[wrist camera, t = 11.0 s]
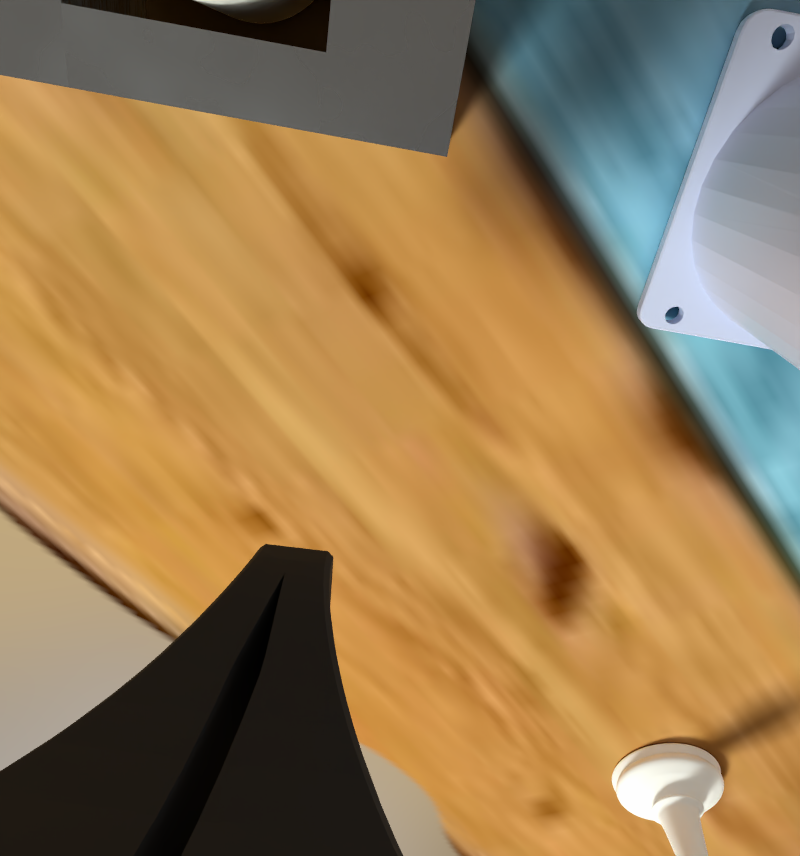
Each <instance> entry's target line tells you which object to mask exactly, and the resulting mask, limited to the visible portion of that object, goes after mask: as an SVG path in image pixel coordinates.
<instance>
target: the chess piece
mask: <svg viewBox="0 0 800 856" xmlns="http://www.w3.org/2000/svg"><path fill="white" fill-rule="evenodd" d="M612 784H613V787H614V789H615V791H616V793H617V797H618V799H619V801H620V803H621V804H622V805H623V806H624V807H625V808H626V809H627V810H628V811H629V812H631V813H633V814H634V815H637V816H639V817H642V818H645V819H649V820H654V821H656V822H657V823H659V824H661V825H662V827H663V828H664V831H665V833H666V835H667V837H668V839H669V841H670V844H671V846H672V848H673V851H674V853H675V855H676V856H708V852H707V848H706V844H705V839H704V835H703V831H702V826H701V821H700V818H701V817H702V815H703V814H704V812H706V811H707V810H709V809H710V808H712V807H713V806H714V805H715V804H716V803H717V802H718V801H719V799H720V798H721V796H722V794H723V790H724V780H723V777H722V775H721V769H720V766H719V763H718V762H717V760H716V759H715V758H714V757H713V756H712V755H711V754H710V753H708V752H706V751H705V750H703V749H701V748H698V747H695V746H692V745H687V744H680V743H663V744H656V745H651V746H647V747H644V748H641V749H639V750H636V751H634V752H632V753H631V754H629V755H627V756H626V757H625V758H623V759H622V760H621V761H620V762H619V763H618V765H617V766H616V767H615V769H614V771H613V774H612Z"/></svg>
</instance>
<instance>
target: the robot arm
mask: <svg viewBox="0 0 800 856" xmlns="http://www.w3.org/2000/svg"><path fill="white" fill-rule="evenodd" d="M779 26H781V27H783V28H785V31H786V41H785V42H784V44H783V45H782V47H781V48H779V49H778V50H777V49H775V48H774V47H773V46H772V43H771V39H772V34H773V33H774V31H775V29H776V28H778V27H779ZM672 307H679V313H678V315H677V316H676V317H675V318H673V319H672V320H665V314H666V312H667V311H668V310H669V309H670V308H672ZM637 315H638V318H639V319H640V320H641V322H642V323H643V324H644V325H645V326H647V327H650V328H654V329H659V330H665V331H671V332H676V333H682V334H687V335H693V336H699V337H704V338H710V339H716V340H721V341H727V342H732V343H738V344H744V345H749V346H755V347H761V348H766V349H772V350H773V351H775V352H776V353H777V354H779V355H780V356H782V357H783V358H784V359H786V360H787V361H788V362H790V363H791V364H793V365H794V366H795V367H797V368H798V369H799V370H800V14H797V13H792V12H786V11H781V10H776V9H761V10H758V11H755V12H753V13H751V14H749V15H748V16H747V17H746V18H745V19H744V20H743V21H741V23H740V25H739V27H738V29H737V30H736V33H735V36H734V39H733V41H732V44H731V47H730V50H729V52H728V55H727V58H726V61H725V64H724V66H723V69H722V72H721V75H720V78H719V80H718V83H717V86H716V89H715V92H714V94H713V97H712V100H711V103H710V106H709V108H708V111H707V114H706V117H705V120H704V122H703V125H702V128H701V131H700V134H699V136H698V139H697V142H696V145H695V148H694V150H693V153H692V156H691V159H690V162H689V164H688V167H687V170H686V173H685V175H684V178H683V181H682V184H681V187H680V189H679V192H678V195H677V198H676V201H675V203H674V206H673V209H672V212H671V215H670V217H669V220H668V223H667V226H666V229H665V231H664V234H663V237H662V240H661V243H660V245H659V248H658V251H657V254H656V257H655V259H654V262H653V265H652V268H651V271H650V273H649V276H648V279H647V282H646V285H645V287H644V290H643V293H642V296H641V299H640V301H639V304H638V308H637ZM332 569H333V556H332V555H331V554H330V553H329V552H328V551H320V550H311V549H303V548H294V547H286V546H277V545H269V544H265V545H264V546H262V547H261V548H260V549H259V550H258V551H257V552H256V554H255V555H254V556H253V558H252V559H251V560H250V561H249V562H248V564H247V565H246V566H245V567H244V568H243V570H242V571H241V572H240V573H239V574H238V575H237V577H236V578H235V579H234V580H233V581H232V582H231V583H230V585H229V586H228V587H227V588H226V589H225V590H224V591H223V592H222V593H221V594H220V596H219V597H218V598H217V599H216V600H215V601H214V602H213V603H212V604H211V605H210V606H209V607H208V608H207V609H206V610H205V611H204V612H203V613H202V614H201V615H200V617H199V618H198V619H197V620H196V621H195V622H194V623H193V624H192V625H191V626H189V627H188V628H187V629H186V630H185V631H184V632H183V633H182V634H181V635H180V636H179V637H178V638H177V639H176V640H175V641H174V642H173V643H171V645H169V646H168V647H167V648H166V649H165V650H164V651H163V652H162V653H161V654H160V655H159V656H157V657H156V658H155V659H154V660H153V661H152V662H151V663H149V664H148V665H147V666H146V667H145V668H144V669H143V670H141V671H140V672H139V673H138V674H137V675H135V676H134V677H133V678H132V679H131V680H129V681H128V682H127V683H126V684H124V685H123V686H122V687H121V688H119V689H118V690H117V691H116V692H115V693H113V694H112V695H111V696H109V697H108V698H107V699H105V700H104V701H103V702H101V703H100V704H99V705H97V706H96V707H95V708H93V709H92V710H91V711H89V712H88V713H86V714H85V715H84V716H83V717H81V718H80V719H78V720H77V721H76V722H74V723H73V724H71V725H70V726H69V727H67V728H66V729H64V730H63V731H62V732H60V733H59V734H57V735H56V736H54V737H53V738H52V739H50V740H48V741H47V742H45V743H44V744H42V745H41V746H39V747H37V748H36V749H34V750H33V751H31V752H30V753H28V754H27V755H25V756H23V757H22V758H21V759H19V760H17V761H16V762H14V763H12V764H11V765H9V766H8V767H6V768H5V769H3V770H1V771H0V856H403V854H402V852H401V850H400V848H399V846H398V844H397V841H396V839H395V837H394V835H393V832H392V830H391V827H390V825H389V823H388V820H387V818H386V816H385V813H384V811H383V809H382V806H381V804H380V801H379V798H378V795H377V793H376V790H375V787H374V784H373V782H372V779H371V776H370V774H369V771H368V768H367V766H366V763H365V760H364V757H363V755H362V752H361V748H360V745H359V742H358V739H357V736H356V733H355V729H354V726H353V723H352V719H351V715H350V712H349V708H348V705H347V701H346V697H345V693H344V689H343V684H342V680H341V676H340V671H339V666H338V661H337V656H336V650H335V644H334V637H333V629H332V621H331V613H330V600H331V585H332Z"/></svg>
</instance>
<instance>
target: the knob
mask: <svg viewBox="0 0 800 856" xmlns="http://www.w3.org/2000/svg"><path fill="white" fill-rule="evenodd" d="M194 1H196V2H198V3H201V4H203V5H205V6H208V7H210V8H212V9H214V10H217V11H219V12H221V13H224V14H226V15H228V16H230V17H233V18H235V19H238V20H242V21H245V22H250V23H273V22H277V21H282V20H284V19H287V18H289V17H292V16H294V15H295V14H297V13H299V12H301V11H302V10H303V9H305V8H306V7H307V6H308V5H310V4H311V3H312V2H313V1H314V0H194Z"/></svg>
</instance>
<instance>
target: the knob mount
mask: <svg viewBox="0 0 800 856" xmlns="http://www.w3.org/2000/svg"><path fill="white" fill-rule="evenodd" d="M475 1H476V0H331V5H330V16H329V28H328V39H327V50H326V52H322V51H316V50H311V49H305V48H300V47H295V46H289V45H284V44H279V43H273V42H268V41H263V40H257V39H252V38H247V37H241V36H236V35H230V34H225V33H220V32H214V31H209V30H204V29H198V28H193V27H188V26H182V25H177V24H172V23H166V22H161V21H156V20H150V19H146V6H145V0H0V75H4V76H10V77H15V78H21V79H26V80H32V81H37V82H43V83H48V84H53V85H59V86H64V87H70V88H75V89H81V90H86V91H92V92H97V93H103V94H108V95H113V96H119V97H124V98H130V99H135V100H141V101H146V102H152V103H157V104H163V105H168V106H173V107H179V108H184V109H190V110H195V111H201V112H206V113H212V114H217V115H222V116H228V117H233V118H239V119H244V120H250V121H255V122H261V123H266V124H272V125H277V126H282V127H288V128H293V129H299V130H304V131H310V132H315V133H321V134H326V135H332V136H337V137H342V138H348V139H353V140H359V141H364V142H370V143H375V144H381V145H386V146H392V147H397V148H402V149H408V150H413V151H419V152H424V153H430V154H435V155H441V156H446V157H447V154H448V149H449V143H450V138H451V132H452V127H453V121H454V116H455V110H456V105H457V99H458V94H459V89H460V83H461V78H462V72H463V67H464V61H465V56H466V50H467V45H468V39H469V34H470V28H471V23H472V18H473V12H474V7H475Z"/></svg>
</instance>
